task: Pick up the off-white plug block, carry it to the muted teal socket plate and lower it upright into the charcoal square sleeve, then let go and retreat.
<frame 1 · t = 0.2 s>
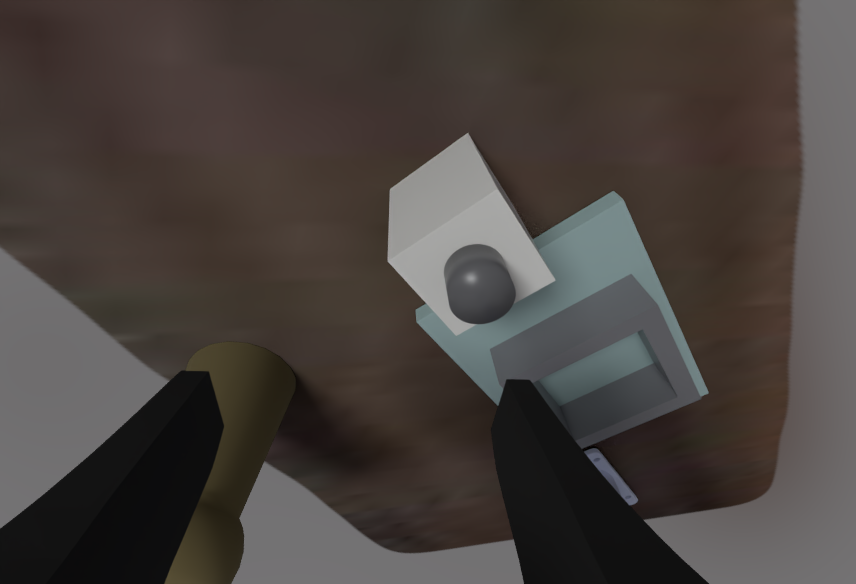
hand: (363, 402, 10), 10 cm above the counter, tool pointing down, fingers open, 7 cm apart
socket: (579, 345, 24), on the counter
plug: (453, 198, 18), on the counter
cork: (243, 377, 24), on the counter
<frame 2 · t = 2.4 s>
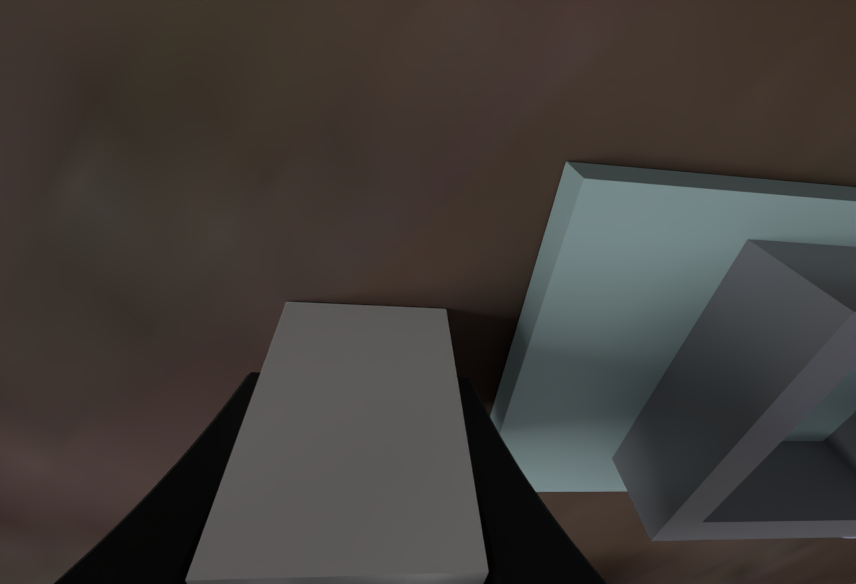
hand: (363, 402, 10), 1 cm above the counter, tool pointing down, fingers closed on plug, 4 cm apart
socket: (771, 350, 12), on the counter
plug: (366, 362, 12), on the counter, touching gripper
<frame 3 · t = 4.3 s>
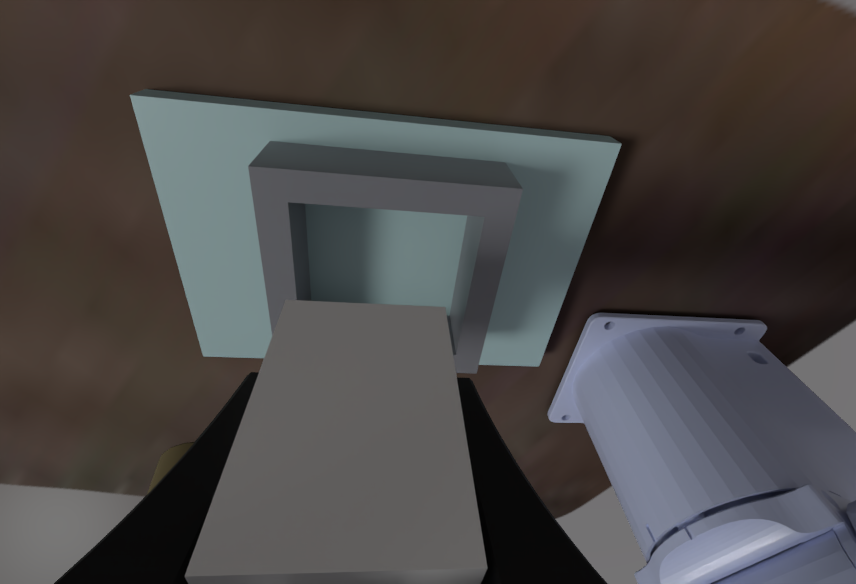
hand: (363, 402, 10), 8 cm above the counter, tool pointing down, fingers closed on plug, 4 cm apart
socket: (385, 241, 17), on the counter
plug: (365, 360, 12), point 7 cm above the counter, touching gripper
cork: (212, 468, 26), on the counter
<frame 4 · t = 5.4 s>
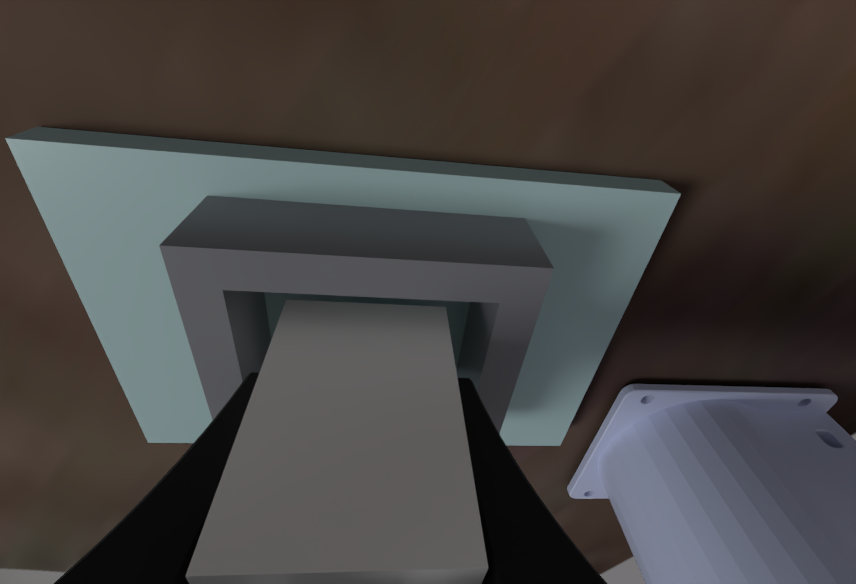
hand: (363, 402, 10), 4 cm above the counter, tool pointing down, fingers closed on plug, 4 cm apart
socket: (370, 307, 14), on the counter
plug: (366, 360, 12), point 2 cm above the counter, touching gripper
when the fingers open (4 cm above the counter, at t = 6.1 s): plug drops 1 cm, resting on socket.
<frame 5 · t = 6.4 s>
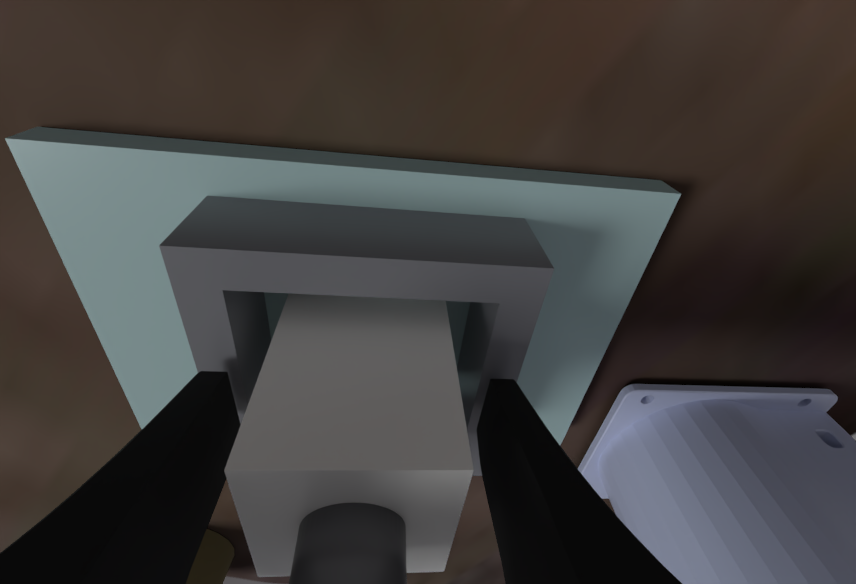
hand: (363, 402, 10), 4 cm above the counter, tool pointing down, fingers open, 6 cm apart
socket: (370, 308, 14), on the counter
plug: (369, 326, 13), point 1 cm above the counter, touching socket
cork: (177, 545, 22), on the counter
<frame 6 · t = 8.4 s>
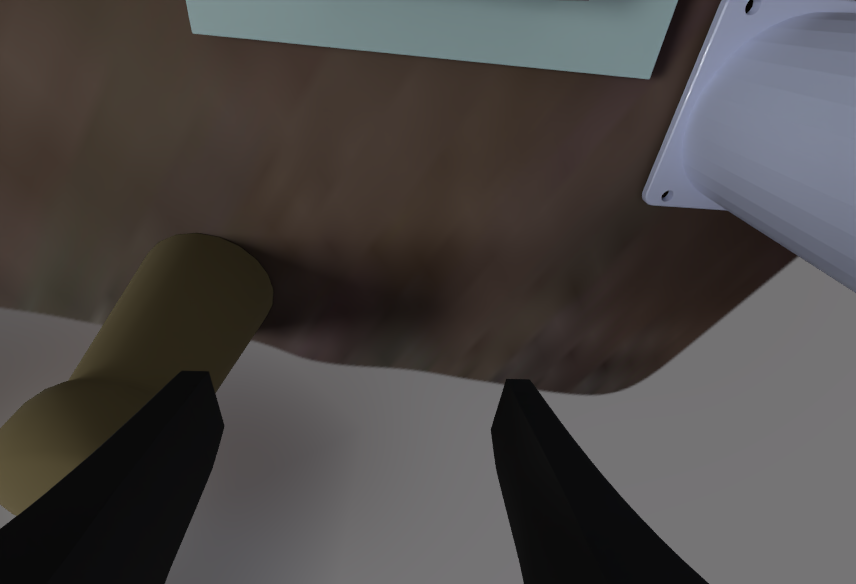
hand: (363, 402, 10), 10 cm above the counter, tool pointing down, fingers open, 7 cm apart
cork: (211, 285, 21), on the counter
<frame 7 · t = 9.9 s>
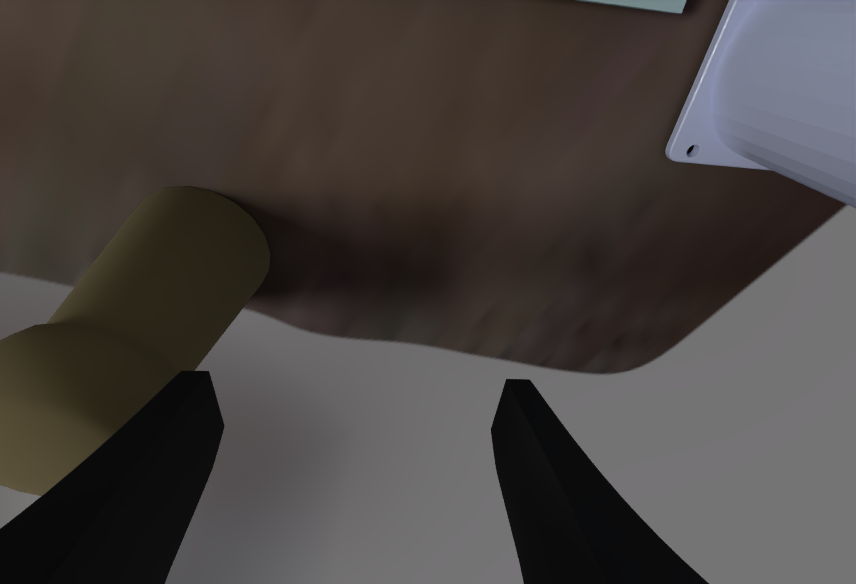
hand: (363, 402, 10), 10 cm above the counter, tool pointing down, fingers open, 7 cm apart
cork: (204, 246, 19), on the counter
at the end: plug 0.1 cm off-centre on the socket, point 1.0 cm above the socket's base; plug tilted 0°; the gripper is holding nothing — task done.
